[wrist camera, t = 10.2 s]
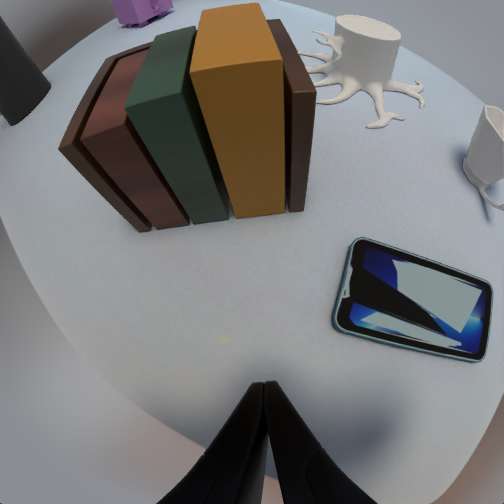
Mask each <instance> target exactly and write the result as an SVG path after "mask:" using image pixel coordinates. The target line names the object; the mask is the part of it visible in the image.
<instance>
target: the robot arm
mask: <svg viewBox="0 0 504 504" xmlns="http://www.w3.org/2000/svg"><path fill="white" fill-rule="evenodd" d="M268 437H269V438H270V443H271V448H272V452H273V457H274V462H275V466H276V471H277V475H278V480H279V483H280V489H281V493H282V497H283V502H284V504H378V503H376V502H375V501H374V500H373V499H372V498H371V497H370V496H368V495H367V494H366V493H365V492H364V491H363V490H362V489H360V488H359V487H358V486H357V485H356V484H355V483H354V482H353V481H352V480H351V479H349V478H348V477H347V476H346V475H345V474H344V472H343V471H342V470H341V469H340V468H339V467H338V466H337V465H336V464H335V463H334V461H333V460H332V459H331V458H330V456H329V455H328V454H327V452H326V451H325V450H324V448H322V446H321V445H320V443H319V442H318V441H317V439H316V438H315V436H314V435H313V434H312V432H311V431H310V429H309V428H308V427H307V425H306V424H305V422H304V421H303V419H302V418H301V417H300V415H299V414H298V412H297V411H296V409H295V408H294V406H293V405H292V403H291V402H290V400H289V399H288V398H287V396H286V395H285V393H284V392H283V390H282V389H281V387H280V386H279V384H278V383H277V381H267V382H265V383H263V382H256V383H252V384H251V385H250V386H249V388H248V390H247V391H246V393H245V394H244V396H243V397H242V399H241V400H240V402H239V403H238V405H237V406H236V408H235V409H234V411H233V412H232V414H231V415H230V417H229V418H228V420H227V421H226V423H225V424H224V426H223V427H222V428H221V430H220V431H219V433H218V434H217V436H216V437H215V438H214V440H213V441H212V443H211V444H210V445H209V447H208V448H207V449H206V451H205V452H204V455H202V456H201V457H200V458H199V460H198V461H197V463H196V464H195V465H194V466H193V468H192V469H191V470H190V471H189V472H188V474H187V475H186V476H185V477H184V478H183V479H182V480H181V481H180V482H179V483H178V484H177V485H176V486H175V487H174V488H173V489H172V490H171V491H170V492H169V493H168V494H166V495H165V496H164V497H163V498H162V499H161V500H160V501H159V502H158V503H156V504H261V499H262V490H263V482H264V475H265V466H266V457H267V448H268ZM0 504H1V503H0ZM503 504H504V503H503Z"/></svg>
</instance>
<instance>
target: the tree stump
mask: <svg viewBox="0 0 504 504" xmlns="http://www.w3.org/2000/svg"><path fill="white" fill-rule="evenodd" d="M312 32H316V33H319V34H321V35H322V36H324V37H325V38H326V39H327V42H320V41H318V40H317V39H316V41H317V42H318V43H320V44H323V45H327V46H330V47H331V48H332V49H333V56H330V55H325V54H320V53H310V52H298V53H299V54H301V55H306V56H311V57H316V58H319V59H321V60H323V61H325V62H326V63H324V64H321V65H317V66H312V67H307V66H305V68H306V70H307V72H308V73H317V72H318V73H325V74H326V75H327V76H326V78H325V79H323V80H321V81H318V82H315V83H313V85H314V86H315V87H317V86H324V85H331V84H335V83H340V84H341V85H342V92H341V93H340V94H339V95H338V96H336V97H334V98H332V99H329V100H316V103H321V104H334V103H338V102H341V101H344V100H346V99H348V98H350V97H351V96H352V95H354V93H355V92H357V91H359V90H360V89H361V90H363V91H366V92H367V93H369V94H370V95H371V97H372V98H373V99H374V100H375V105H376V110H377V113H378V115H379V120H378V121H376V122H374V123H370V124H368V125H366V127H367V128H381V127H384V126H386V125H388V123H389V122H390V120H391V119H392V118H394V119H399V120H404V118H403V117H401V116H398V115H396V114H394V113H392V112H386V111H385V109H384V97H383V90H386V91H398V92H403V93H407V95H409V96H412V97H414V98H417V99H419V101H420V103H421V104H420V108H423V107H424V106H425V101H424V99H423V98H422V97H421V96H420V95H419V94H418V93H420V92H422V90H423V89H424V86H423V84H422V83H421V82H420V81H418V80H415V82H417V83H418V84H419V85H417V86H414V85H406V84H402V83H398V82H396V81H394V80H393V79H392V77H391V75H392V72H393V68H394V64H395V61H396V57H397V53H398V49H399V45H400V40H401V34H400V33H399V32H398V31H397V30H396V29H395V28H393V27H391V26H389V25H387V24H385V23H383V22H380V21H377V20H375V19H372V18H368V17H363V16H357V15H342V16H338V17H337V18H336V19H335V33H334V36H333V35H330V34H327V33H324V32H321V31H312Z"/></svg>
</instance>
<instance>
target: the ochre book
mask: <svg viewBox="0 0 504 504" xmlns="http://www.w3.org/2000/svg"><path fill="white" fill-rule="evenodd" d="M189 73H190V76H191V79H192V83H193V86H194V89H195V92H196V95H197V98H198V101H199V105H200V108H201V111H202V114H203V117H204V120H205V123H206V126H207V130H208V133H209V136H210V139H211V142H212V145H213V148H214V151H215V154H216V157H217V161H218V164H219V167H220V170H221V173H222V176H223V179H224V182H225V185H226V188H227V191H228V194H229V198H230V201H231V204H232V207H233V210H234V213H235V216H236V218H245V217H253V216H261V215H270V214H278V213H284V212H285V124H284V83H283V59H282V57H281V54H280V52H279V49H278V47H277V44H276V42H275V39H274V37H273V34H272V32H271V30H270V27H269V25H268V23H267V21H266V18H265V16H264V14H263V12H262V10H261V7H260V5H259V3H249V4H240V5H232V6H225V7H219V8H213V9H208V10H203V11H202V13H201V18H200V22H199V26H198V31H197V35H196V40H195V45H194V50H193V55H192V61H191V66H190V72H189Z"/></svg>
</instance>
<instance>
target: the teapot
mask: <svg viewBox="0 0 504 504" xmlns="http://www.w3.org/2000/svg"><path fill="white" fill-rule="evenodd" d="M110 1H111V4H112V6H113V9H114V11H115V13H116V15H117V18H118V20H119V23H120V24H129V25H128V27H130V26H133V25H135V24H138V27H141V26H144V25H146V24H147V23H148V22H147V20H148V19H150V18H152V17H154V16H156V15H157V16H158V17H160V16H163V15H166V14H167V13H166V12H164V11H166V10H169V9H171V8H173V5H172V1H171V0H110Z"/></svg>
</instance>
